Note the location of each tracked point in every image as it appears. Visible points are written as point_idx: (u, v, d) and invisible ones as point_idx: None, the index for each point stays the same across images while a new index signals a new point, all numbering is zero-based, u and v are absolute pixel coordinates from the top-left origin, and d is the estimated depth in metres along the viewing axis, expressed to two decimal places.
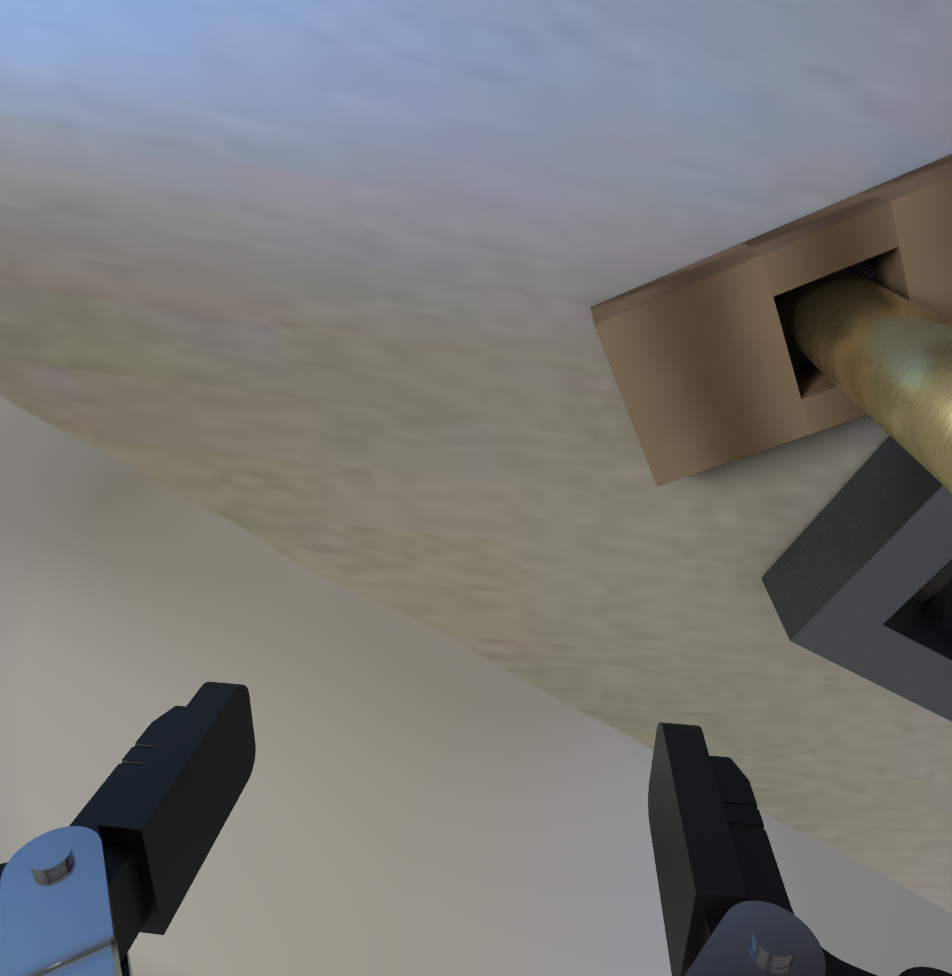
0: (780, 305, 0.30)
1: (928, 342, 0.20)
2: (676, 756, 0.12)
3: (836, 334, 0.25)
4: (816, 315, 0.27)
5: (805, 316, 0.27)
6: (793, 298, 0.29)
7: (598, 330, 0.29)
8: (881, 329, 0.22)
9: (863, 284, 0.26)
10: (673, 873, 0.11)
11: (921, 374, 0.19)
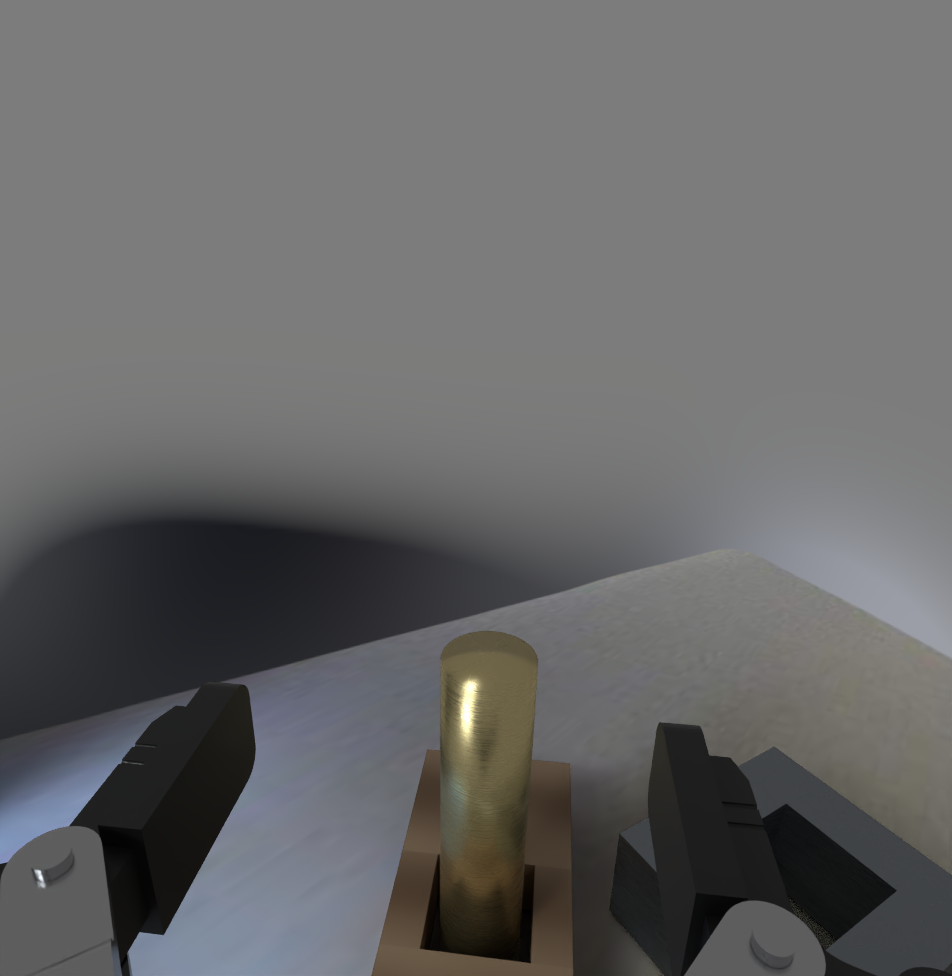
0: None
1: (440, 768, 0.28)
2: (676, 756, 0.12)
3: (448, 872, 0.29)
4: (447, 910, 0.30)
5: (451, 928, 0.30)
6: None
7: None
8: (440, 819, 0.29)
9: None
10: (673, 873, 0.11)
11: (443, 758, 0.27)
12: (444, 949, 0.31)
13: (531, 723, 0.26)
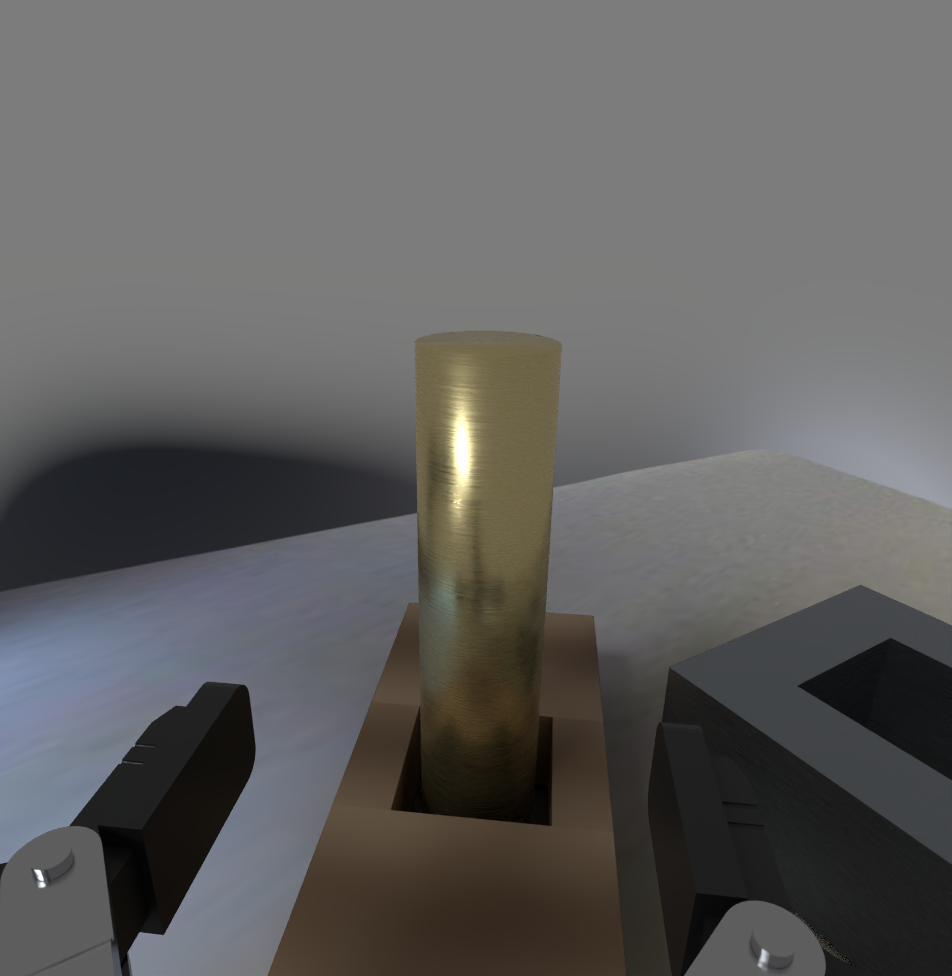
0: None
1: None
2: (676, 756, 0.12)
3: (431, 695, 0.20)
4: (430, 757, 0.21)
5: (436, 785, 0.21)
6: None
7: None
8: (419, 617, 0.20)
9: None
10: (673, 873, 0.11)
11: (421, 507, 0.18)
12: None
13: (552, 442, 0.17)
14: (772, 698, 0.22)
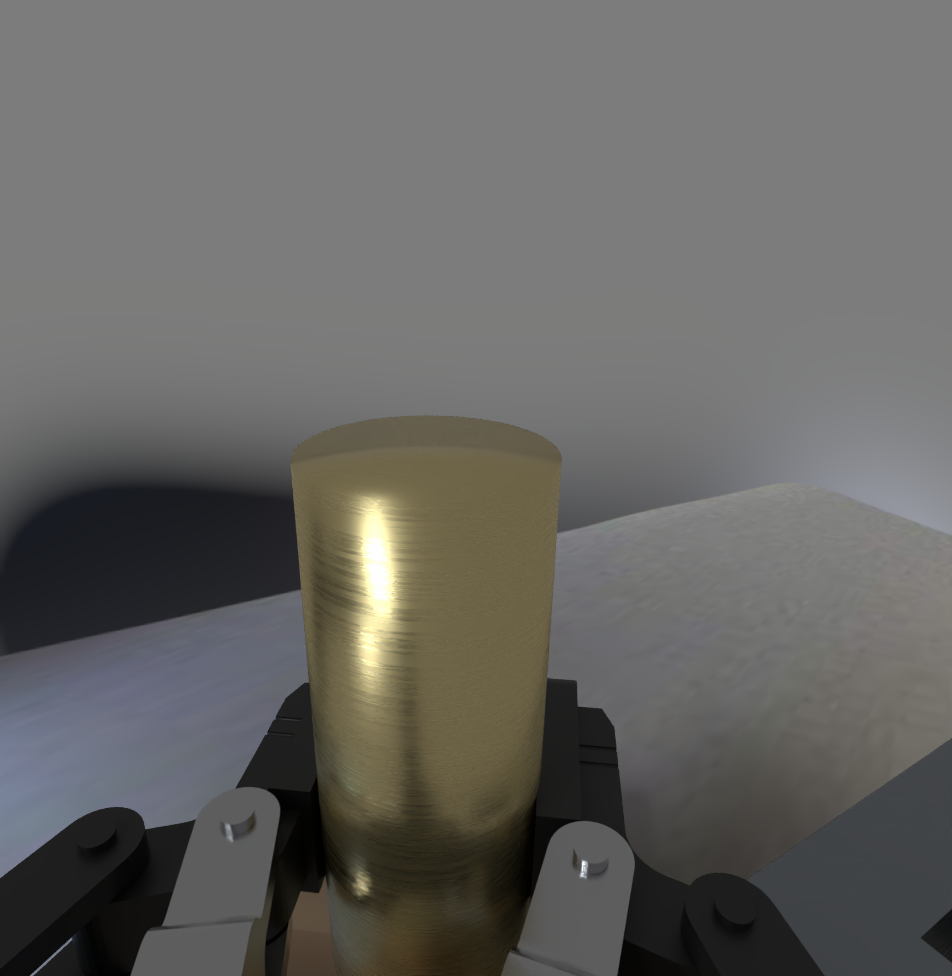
0: None
1: None
2: (547, 705, 0.13)
3: None
4: None
5: None
6: None
7: None
8: None
9: None
10: None
11: (315, 731, 0.10)
12: None
13: (544, 631, 0.10)
14: (888, 967, 0.14)
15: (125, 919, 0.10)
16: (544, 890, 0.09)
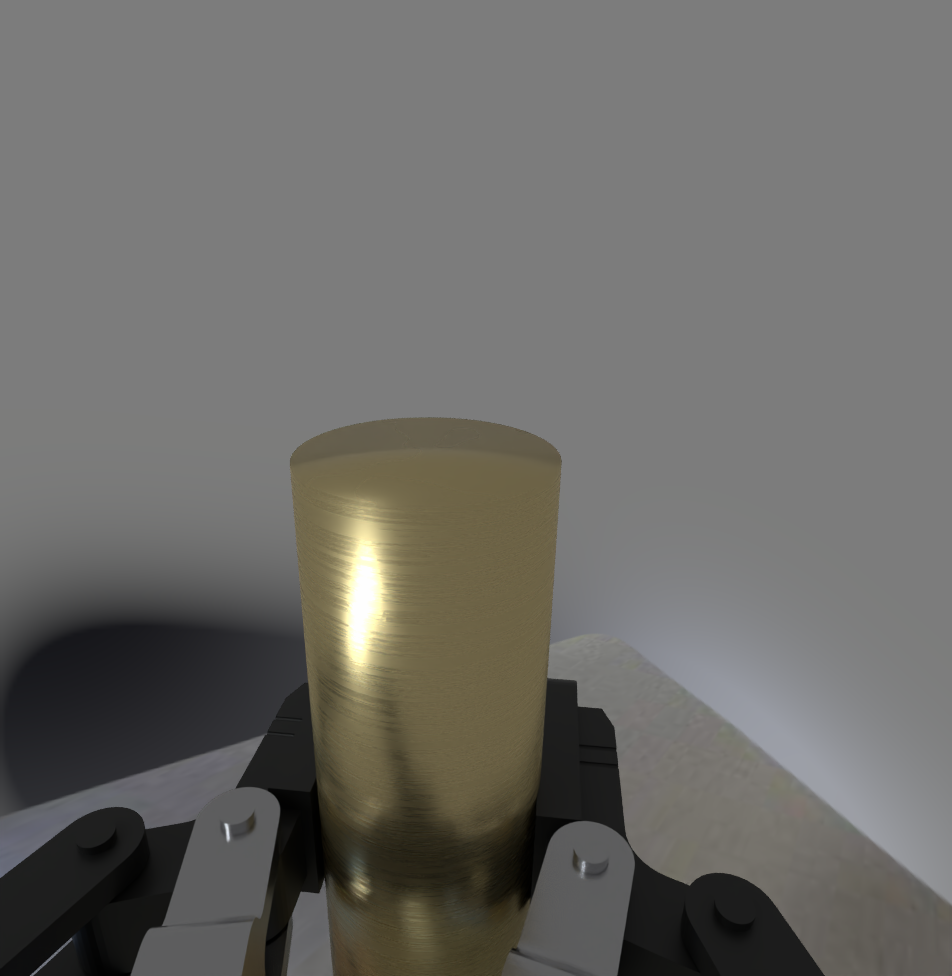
0: None
1: None
2: (547, 705, 0.13)
3: None
4: None
5: None
6: None
7: None
8: (325, 884, 0.12)
9: None
10: None
11: (313, 734, 0.10)
12: None
13: (544, 633, 0.10)
14: None
15: (125, 919, 0.10)
16: (544, 890, 0.09)
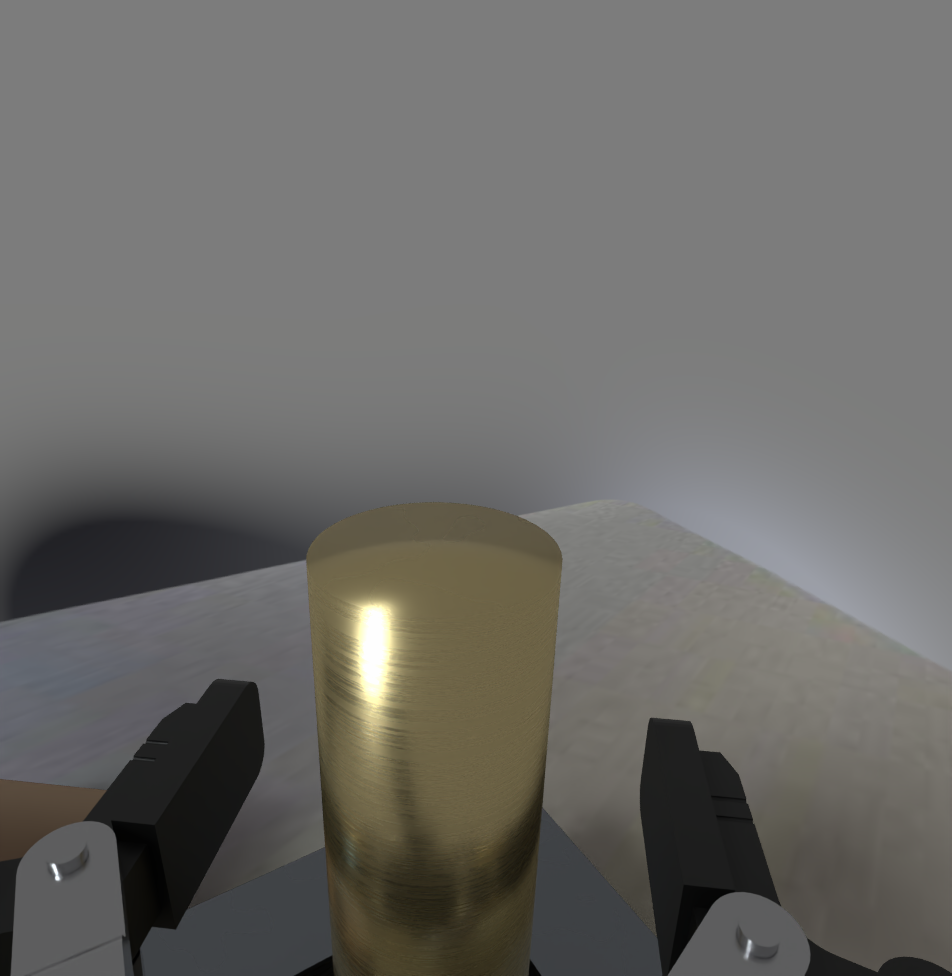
0: None
1: None
2: (666, 751, 0.12)
3: None
4: None
5: None
6: None
7: None
8: None
9: None
10: (663, 866, 0.11)
11: (324, 808, 0.11)
12: None
13: (544, 720, 0.10)
14: None
15: None
16: None
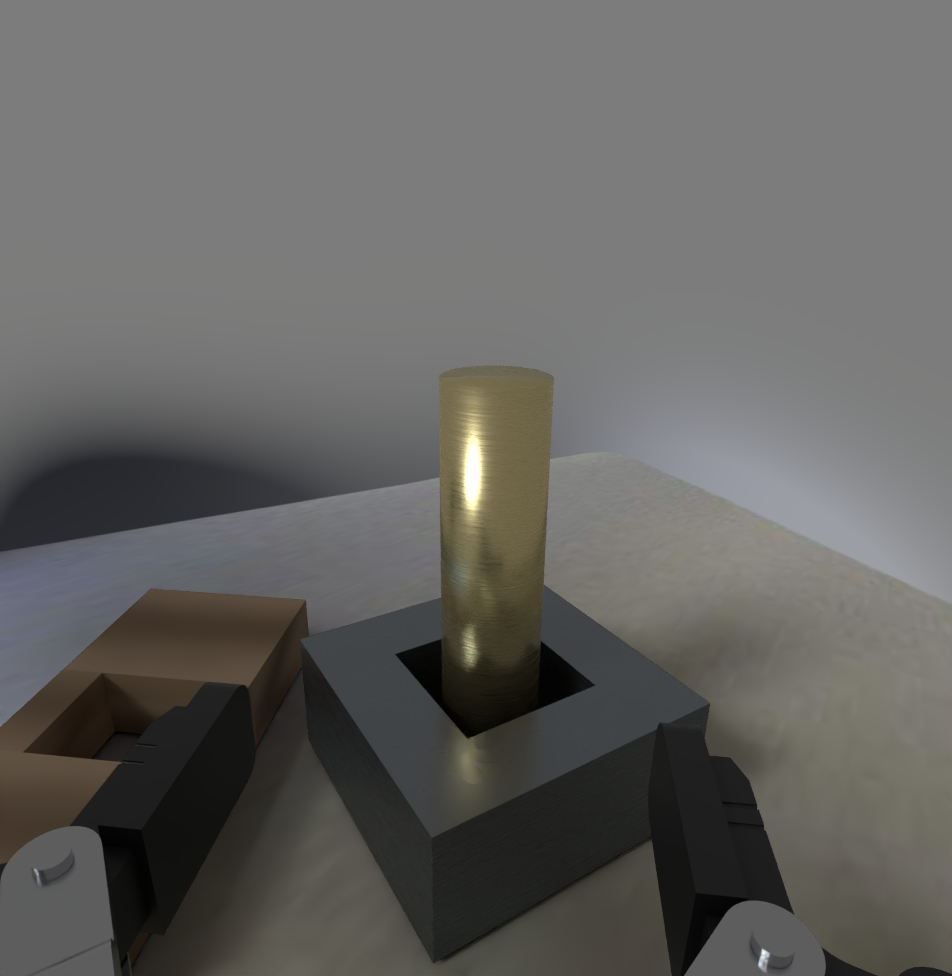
0: None
1: (440, 531, 0.24)
2: (676, 756, 0.12)
3: (452, 657, 0.24)
4: (450, 710, 0.25)
5: None
6: None
7: None
8: (441, 595, 0.24)
9: None
10: (673, 873, 0.11)
11: (444, 506, 0.23)
12: None
13: (546, 455, 0.22)
14: (365, 663, 0.26)
15: None
16: None
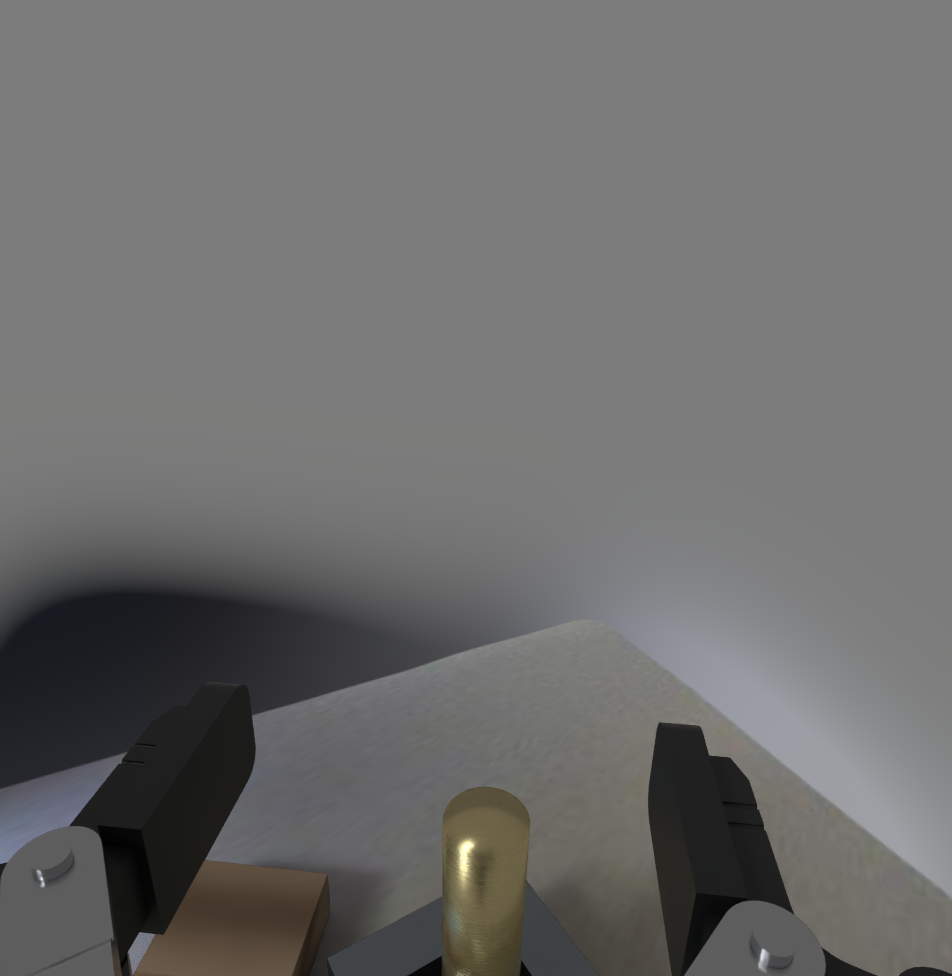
0: None
1: (442, 911, 0.31)
2: (676, 756, 0.12)
3: None
4: None
5: None
6: None
7: None
8: (442, 956, 0.31)
9: None
10: (673, 873, 0.11)
11: (445, 907, 0.30)
12: None
13: (524, 877, 0.29)
14: None
15: None
16: None
